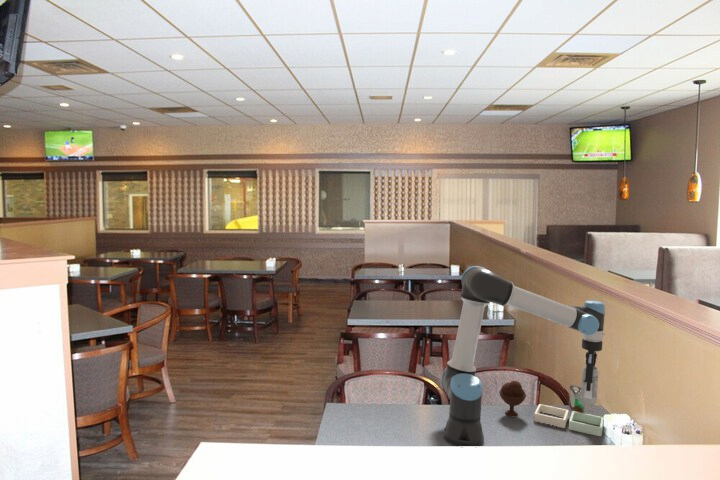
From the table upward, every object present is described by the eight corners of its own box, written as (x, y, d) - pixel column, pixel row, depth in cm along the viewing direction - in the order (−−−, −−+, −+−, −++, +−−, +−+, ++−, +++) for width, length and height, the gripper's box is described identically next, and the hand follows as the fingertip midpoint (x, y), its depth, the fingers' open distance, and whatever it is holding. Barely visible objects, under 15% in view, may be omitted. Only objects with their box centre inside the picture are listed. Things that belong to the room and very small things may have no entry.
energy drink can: (585, 399, 212) (587, 364, 211) (599, 404, 207) (601, 368, 206) (577, 402, 209) (579, 366, 208) (591, 407, 204) (593, 370, 203)
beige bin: (533, 421, 213) (534, 413, 212) (538, 411, 223) (539, 403, 223) (564, 428, 207) (565, 420, 207) (568, 418, 218) (568, 410, 217)
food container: (589, 418, 218) (591, 395, 217) (574, 416, 219) (575, 394, 218) (582, 407, 230) (584, 385, 229) (568, 405, 231) (569, 384, 230)
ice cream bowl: (527, 413, 221) (529, 379, 220) (520, 421, 212) (522, 386, 211) (503, 407, 227) (504, 374, 226) (495, 415, 217) (497, 380, 216)
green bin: (568, 429, 206) (569, 420, 206) (571, 418, 217) (572, 410, 217) (601, 436, 201) (602, 428, 200) (603, 425, 211) (603, 417, 211)
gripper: (601, 346, 196) (597, 405, 198) (604, 336, 213) (600, 390, 214) (579, 343, 200) (576, 401, 201) (584, 333, 216) (580, 386, 218)
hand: (588, 395), depth 208 cm, fingers closed on energy drink can, 6 cm apart
